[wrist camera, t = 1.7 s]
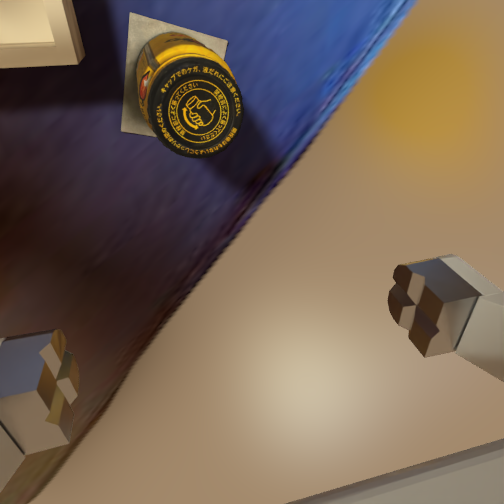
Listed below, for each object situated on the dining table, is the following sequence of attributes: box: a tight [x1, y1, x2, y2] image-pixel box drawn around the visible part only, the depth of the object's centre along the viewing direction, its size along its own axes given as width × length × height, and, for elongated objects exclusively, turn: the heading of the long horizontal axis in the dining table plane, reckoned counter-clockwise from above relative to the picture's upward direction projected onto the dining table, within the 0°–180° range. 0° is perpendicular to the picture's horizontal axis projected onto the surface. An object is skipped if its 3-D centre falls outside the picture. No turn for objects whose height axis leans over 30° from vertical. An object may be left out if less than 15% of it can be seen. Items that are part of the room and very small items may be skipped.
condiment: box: [121, 12, 244, 158], centre depth 24 cm, size 7×8×12 cm
